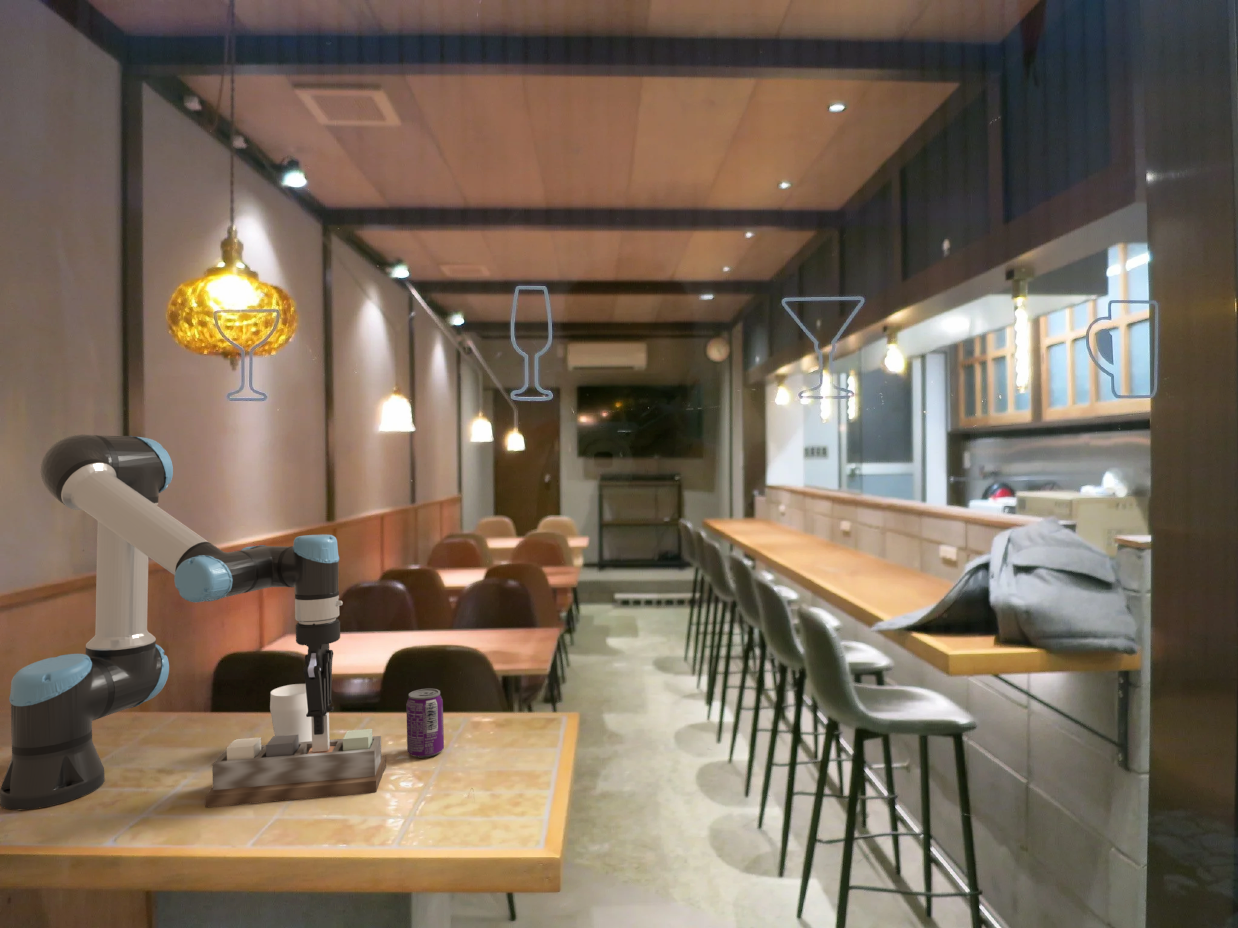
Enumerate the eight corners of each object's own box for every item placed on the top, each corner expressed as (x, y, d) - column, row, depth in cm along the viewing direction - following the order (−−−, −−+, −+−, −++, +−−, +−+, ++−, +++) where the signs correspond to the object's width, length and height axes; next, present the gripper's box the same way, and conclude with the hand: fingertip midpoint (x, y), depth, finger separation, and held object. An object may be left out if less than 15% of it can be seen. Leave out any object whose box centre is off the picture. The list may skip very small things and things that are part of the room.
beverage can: (448, 746, 154) (447, 687, 154) (437, 760, 147) (435, 698, 147) (415, 746, 154) (413, 687, 154) (401, 759, 147) (400, 698, 147)
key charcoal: (266, 761, 133) (266, 744, 133) (273, 752, 138) (273, 736, 138) (292, 759, 134) (292, 742, 134) (298, 750, 138) (298, 734, 138)
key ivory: (227, 765, 132) (226, 747, 132) (235, 755, 136) (235, 739, 137) (253, 762, 133) (253, 745, 133) (261, 753, 137) (261, 737, 137)
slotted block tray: (205, 807, 128) (204, 769, 128) (229, 778, 140) (229, 743, 140) (376, 791, 133) (375, 754, 133) (386, 765, 144) (385, 731, 144)
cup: (307, 755, 150) (305, 695, 150) (262, 756, 151) (261, 696, 151) (325, 739, 159) (324, 682, 159) (283, 740, 160) (282, 683, 160)
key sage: (343, 755, 135) (342, 738, 135) (347, 746, 140) (347, 730, 140) (368, 753, 136) (368, 736, 136) (372, 744, 140) (372, 728, 140)
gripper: (331, 626, 131) (335, 761, 131) (346, 612, 144) (349, 735, 144) (286, 628, 130) (289, 765, 130) (305, 614, 143) (308, 738, 143)
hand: (321, 749), depth 137 cm, fingers closed
